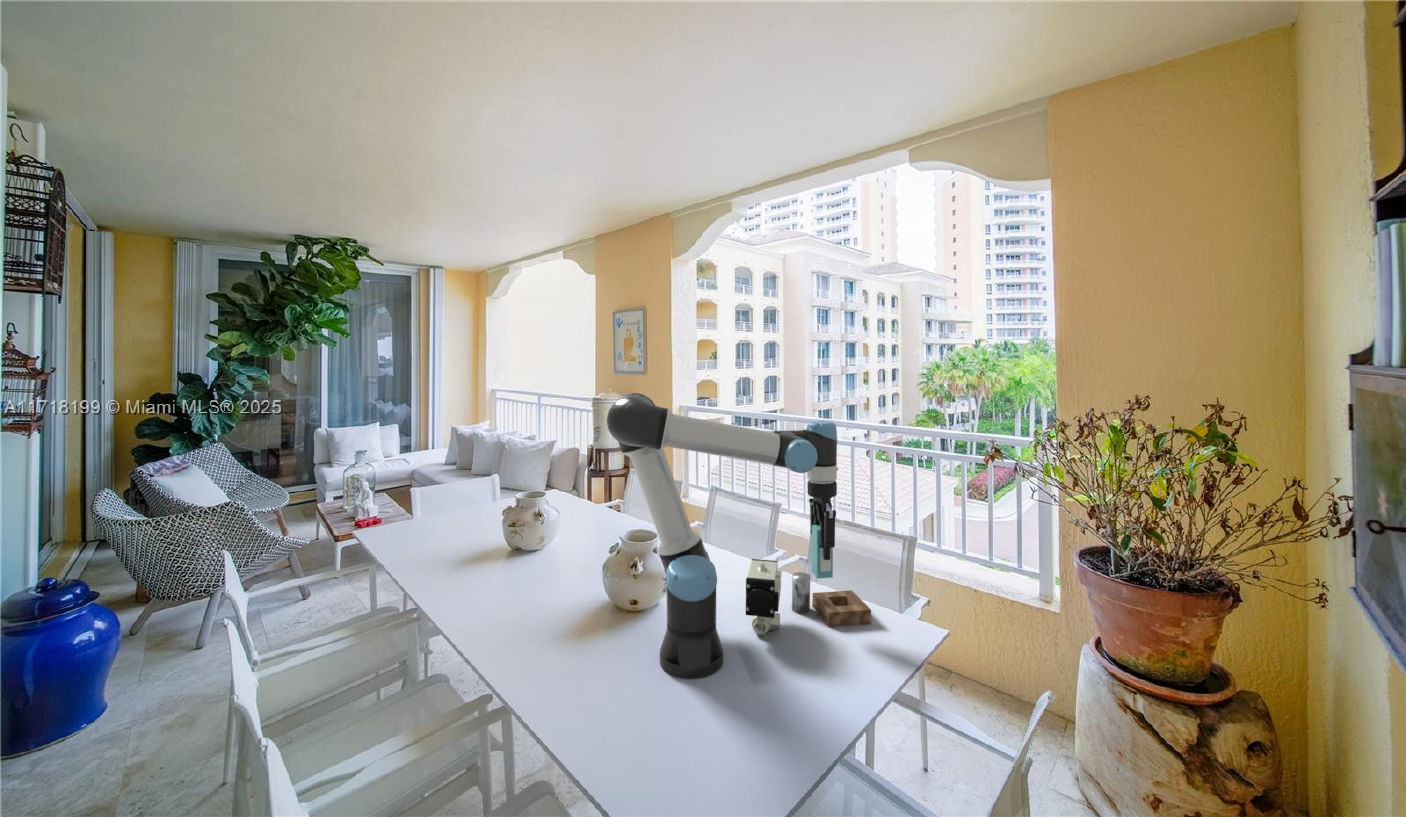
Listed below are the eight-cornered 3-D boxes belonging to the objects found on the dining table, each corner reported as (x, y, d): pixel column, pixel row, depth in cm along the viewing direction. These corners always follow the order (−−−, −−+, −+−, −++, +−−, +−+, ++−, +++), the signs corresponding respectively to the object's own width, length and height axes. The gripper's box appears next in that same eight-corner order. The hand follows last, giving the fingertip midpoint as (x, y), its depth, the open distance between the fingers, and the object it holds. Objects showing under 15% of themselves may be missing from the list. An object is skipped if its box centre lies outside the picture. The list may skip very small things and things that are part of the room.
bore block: (828, 627, 138) (828, 612, 137) (812, 606, 150) (812, 592, 149) (870, 623, 139) (871, 609, 139) (851, 603, 151) (851, 590, 151)
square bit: (817, 578, 135) (817, 530, 134) (811, 572, 139) (811, 525, 138) (832, 577, 135) (832, 529, 134) (826, 571, 139) (826, 524, 138)
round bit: (795, 614, 145) (795, 580, 144) (789, 606, 150) (790, 572, 149) (812, 613, 145) (812, 578, 145) (806, 605, 150) (806, 571, 149)
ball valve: (778, 648, 128) (779, 578, 126) (744, 644, 129) (744, 575, 128) (782, 613, 145) (783, 552, 144) (752, 610, 147) (752, 550, 145)
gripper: (849, 487, 127) (848, 579, 129) (824, 472, 144) (824, 554, 146) (819, 489, 126) (819, 581, 128) (798, 474, 143) (798, 555, 145)
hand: (822, 566), depth 137 cm, fingers closed on square bit, 4 cm apart
